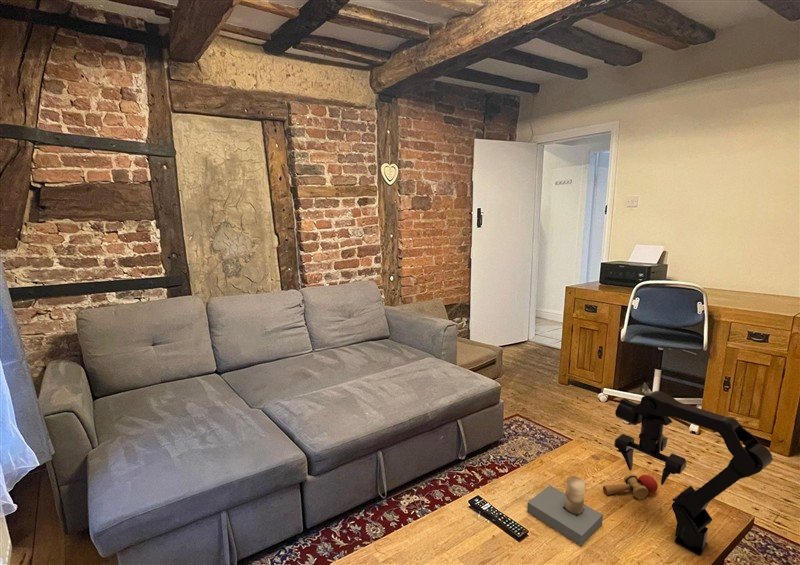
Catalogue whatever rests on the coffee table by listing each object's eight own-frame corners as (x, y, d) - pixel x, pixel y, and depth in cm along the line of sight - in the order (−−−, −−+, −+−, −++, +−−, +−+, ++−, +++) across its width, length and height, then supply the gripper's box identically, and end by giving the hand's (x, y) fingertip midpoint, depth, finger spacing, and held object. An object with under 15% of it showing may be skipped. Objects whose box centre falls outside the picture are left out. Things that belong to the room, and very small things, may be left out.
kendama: (613, 507, 138) (664, 497, 139) (610, 488, 138) (662, 478, 139) (600, 495, 146) (649, 485, 147) (598, 477, 146) (647, 468, 147)
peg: (585, 517, 131) (588, 482, 129) (576, 526, 128) (580, 490, 125) (569, 508, 135) (571, 473, 133) (560, 516, 132) (562, 481, 129)
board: (601, 524, 129) (602, 514, 128) (581, 546, 121) (582, 535, 120) (549, 494, 143) (549, 485, 142) (527, 511, 134) (527, 502, 134)
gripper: (695, 435, 126) (689, 481, 129) (630, 411, 140) (625, 453, 143) (683, 448, 119) (676, 497, 122) (615, 423, 133) (611, 466, 136)
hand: (646, 477), depth 131 cm, fingers open, 9 cm apart
